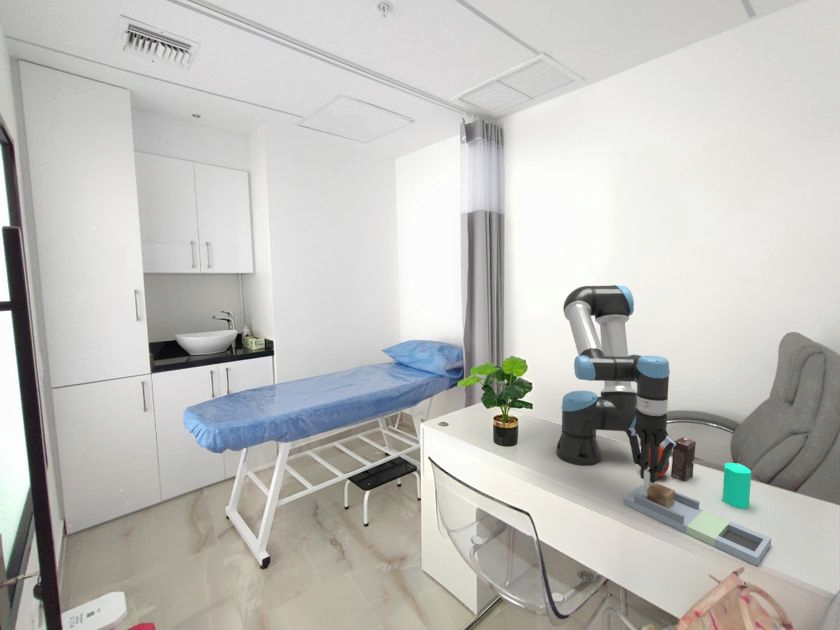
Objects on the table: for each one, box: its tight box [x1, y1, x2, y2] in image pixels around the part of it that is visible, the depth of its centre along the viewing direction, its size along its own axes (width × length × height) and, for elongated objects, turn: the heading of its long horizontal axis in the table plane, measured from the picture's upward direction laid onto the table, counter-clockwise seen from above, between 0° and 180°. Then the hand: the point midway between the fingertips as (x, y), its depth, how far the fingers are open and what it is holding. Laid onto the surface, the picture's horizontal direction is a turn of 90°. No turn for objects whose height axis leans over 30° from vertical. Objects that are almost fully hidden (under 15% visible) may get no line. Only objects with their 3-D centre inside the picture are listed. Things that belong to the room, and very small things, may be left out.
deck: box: [622, 483, 772, 567], centre depth 103 cm, size 30×11×4 cm, turn 36°
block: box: [647, 482, 676, 509], centre depth 108 cm, size 5×5×4 cm
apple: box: [648, 445, 670, 478], centre depth 127 cm, size 8×8×11 cm
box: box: [670, 437, 697, 482], centre depth 125 cm, size 6×4×12 cm
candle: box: [722, 462, 752, 510], centre depth 111 cm, size 6×6×12 cm
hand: (648, 491), depth 111 cm, fingers closed
